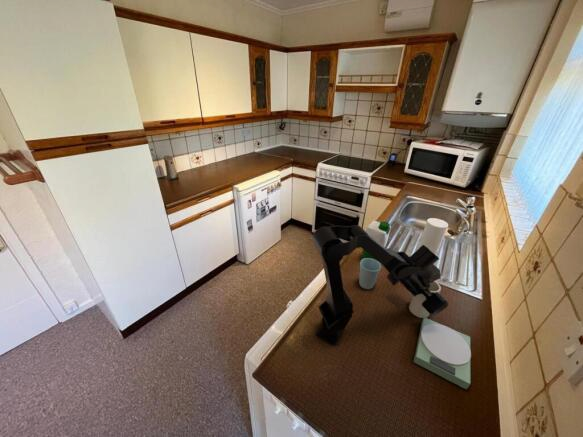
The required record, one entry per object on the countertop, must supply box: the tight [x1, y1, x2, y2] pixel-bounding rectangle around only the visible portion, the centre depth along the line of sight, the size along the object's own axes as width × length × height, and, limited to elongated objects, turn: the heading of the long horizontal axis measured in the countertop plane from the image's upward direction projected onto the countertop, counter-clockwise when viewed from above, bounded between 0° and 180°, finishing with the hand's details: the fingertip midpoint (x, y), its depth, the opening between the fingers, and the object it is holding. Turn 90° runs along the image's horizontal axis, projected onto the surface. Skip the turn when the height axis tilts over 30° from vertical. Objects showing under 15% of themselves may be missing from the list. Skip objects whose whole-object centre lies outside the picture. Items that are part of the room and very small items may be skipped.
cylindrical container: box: [416, 217, 449, 257], centre depth 97 cm, size 7×7×25 cm
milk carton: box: [360, 220, 392, 263], centre depth 105 cm, size 9×9×20 cm
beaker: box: [408, 280, 442, 319], centre depth 82 cm, size 7×7×12 cm
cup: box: [358, 258, 382, 290], centre depth 94 cm, size 8×8×10 cm
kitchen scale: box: [413, 317, 472, 390], centre depth 71 cm, size 16×13×3 cm
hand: (427, 296), depth 82 cm, fingers closed on beaker, 7 cm apart
